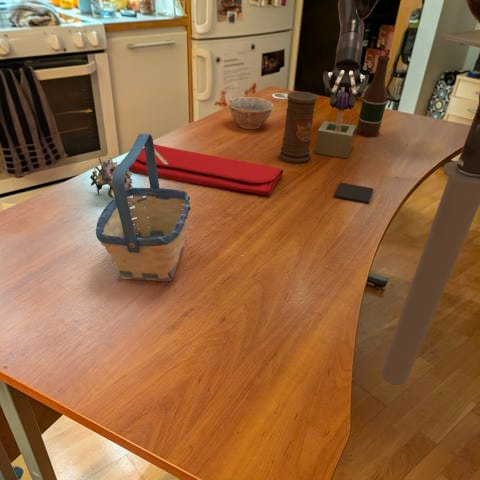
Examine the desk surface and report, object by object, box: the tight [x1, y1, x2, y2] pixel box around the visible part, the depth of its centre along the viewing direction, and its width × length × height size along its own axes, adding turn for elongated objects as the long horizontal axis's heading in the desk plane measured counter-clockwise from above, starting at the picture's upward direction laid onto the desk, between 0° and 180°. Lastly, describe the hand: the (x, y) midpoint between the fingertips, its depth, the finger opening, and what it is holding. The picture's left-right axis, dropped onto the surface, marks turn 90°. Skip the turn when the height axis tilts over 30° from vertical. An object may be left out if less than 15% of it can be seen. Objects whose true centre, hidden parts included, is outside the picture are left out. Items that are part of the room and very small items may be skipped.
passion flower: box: [89, 157, 134, 199], centre depth 114 cm, size 11×11×12 cm
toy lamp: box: [334, 91, 350, 132], centre depth 143 cm, size 5×5×17 cm
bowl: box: [227, 96, 275, 130], centre depth 160 cm, size 16×16×8 cm
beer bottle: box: [356, 55, 390, 137], centre depth 155 cm, size 8×8×24 cm
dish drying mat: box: [128, 143, 284, 196], centre depth 128 cm, size 16×41×4 cm, turn 72°
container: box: [279, 91, 318, 164], centre depth 136 cm, size 9×9×18 cm
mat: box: [333, 182, 374, 205], centre depth 124 cm, size 9×9×1 cm
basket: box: [95, 133, 192, 282], centre depth 86 cm, size 21×16×24 cm
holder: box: [314, 120, 357, 159], centre depth 146 cm, size 10×10×7 cm
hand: (341, 107), depth 138 cm, fingers closed on toy lamp, 4 cm apart
